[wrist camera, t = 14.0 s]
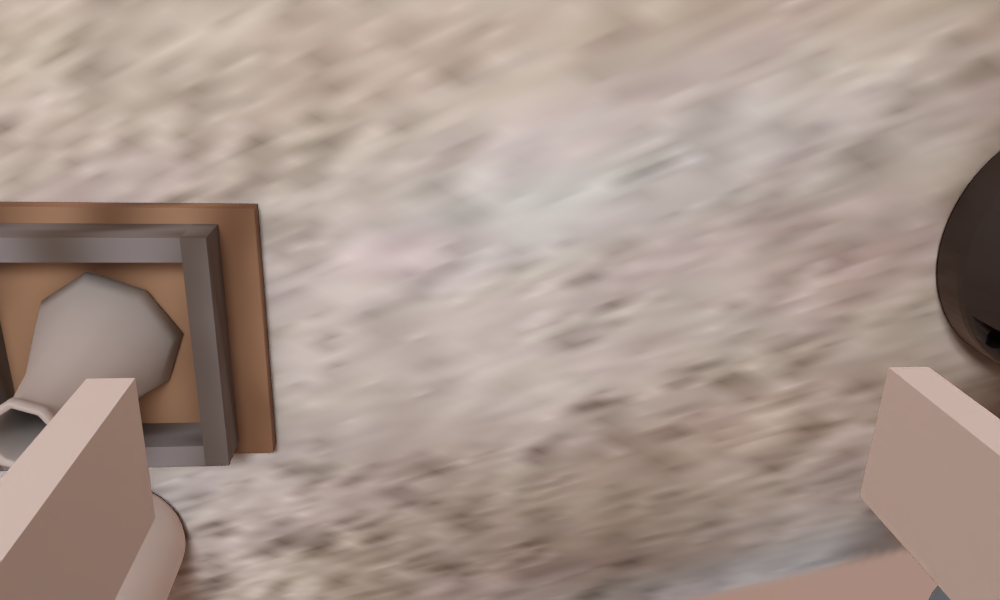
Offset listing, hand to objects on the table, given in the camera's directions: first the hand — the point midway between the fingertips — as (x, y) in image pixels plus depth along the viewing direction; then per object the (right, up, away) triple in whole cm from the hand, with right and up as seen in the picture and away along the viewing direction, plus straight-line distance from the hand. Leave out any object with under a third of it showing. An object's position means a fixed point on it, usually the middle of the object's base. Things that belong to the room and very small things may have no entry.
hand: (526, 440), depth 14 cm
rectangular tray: (-21, +1, +28) cm, 35 cm away
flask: (-21, +1, +28) cm, 35 cm away
